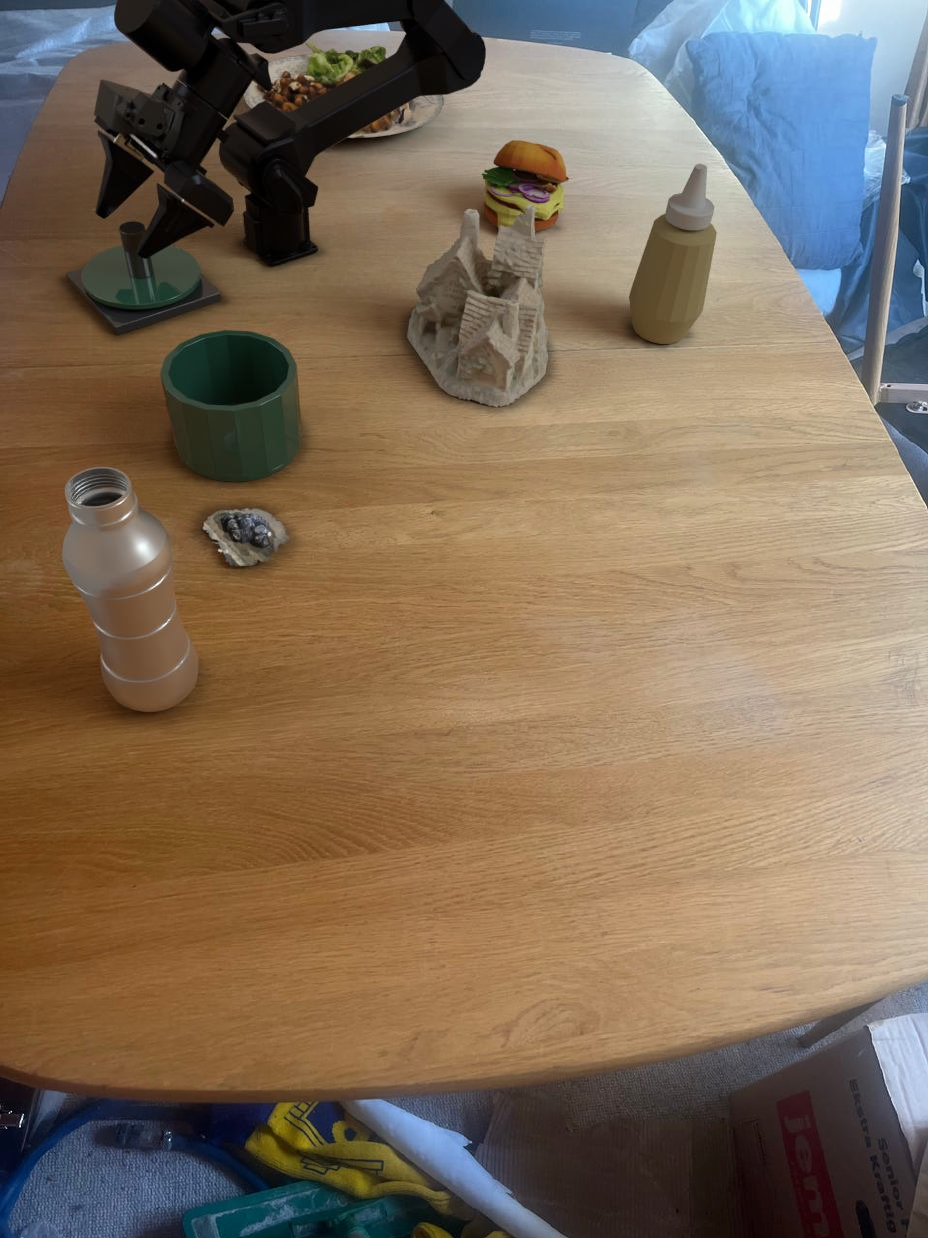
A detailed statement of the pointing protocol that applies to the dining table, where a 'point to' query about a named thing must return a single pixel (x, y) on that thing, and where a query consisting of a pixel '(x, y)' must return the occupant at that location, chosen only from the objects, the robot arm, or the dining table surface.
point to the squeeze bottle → (675, 265)
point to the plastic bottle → (128, 591)
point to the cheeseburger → (525, 184)
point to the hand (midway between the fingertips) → (119, 235)
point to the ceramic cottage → (484, 314)
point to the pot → (233, 404)
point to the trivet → (139, 318)
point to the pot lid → (140, 273)
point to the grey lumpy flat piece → (245, 535)
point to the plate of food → (326, 70)
